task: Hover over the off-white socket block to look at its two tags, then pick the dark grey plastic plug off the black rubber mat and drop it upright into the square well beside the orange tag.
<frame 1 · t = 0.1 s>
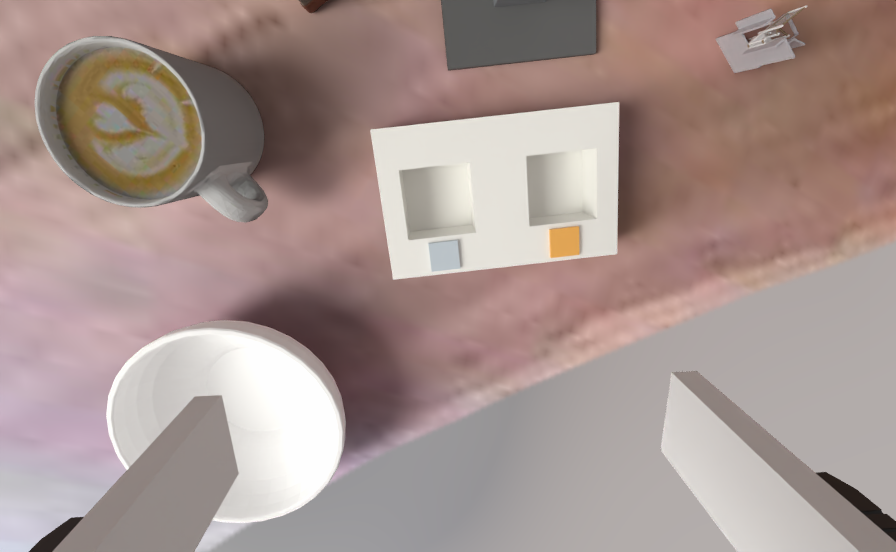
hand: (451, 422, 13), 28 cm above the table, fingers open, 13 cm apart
coffee mug: (218, 148, 36), on the table
bowl: (259, 386, 43), on the table
socket block: (493, 189, 38), on the table
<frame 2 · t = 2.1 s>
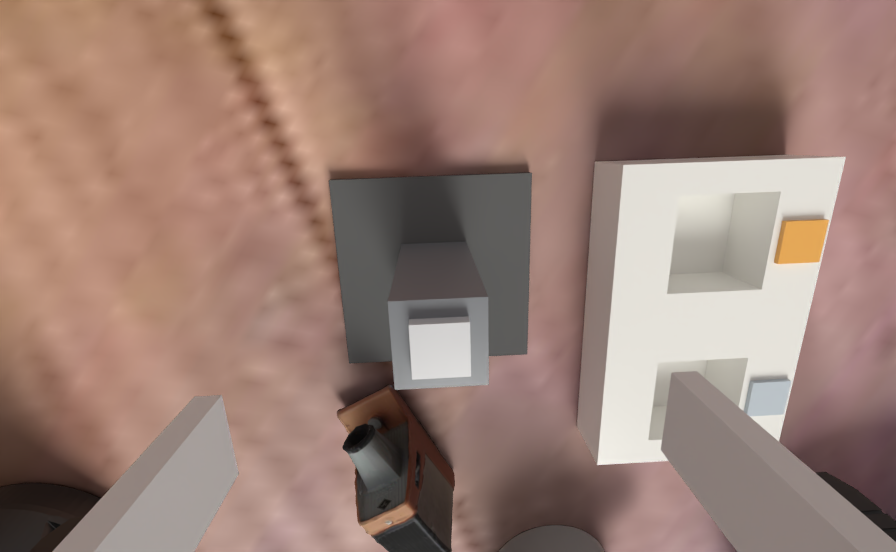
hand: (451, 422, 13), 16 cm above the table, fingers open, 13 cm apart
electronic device: (399, 436, 32), on the table
plug: (435, 273, 27), point 1 cm above the table, touching mat
mat: (435, 271, 28), on the table
socket block: (672, 302, 29), on the table
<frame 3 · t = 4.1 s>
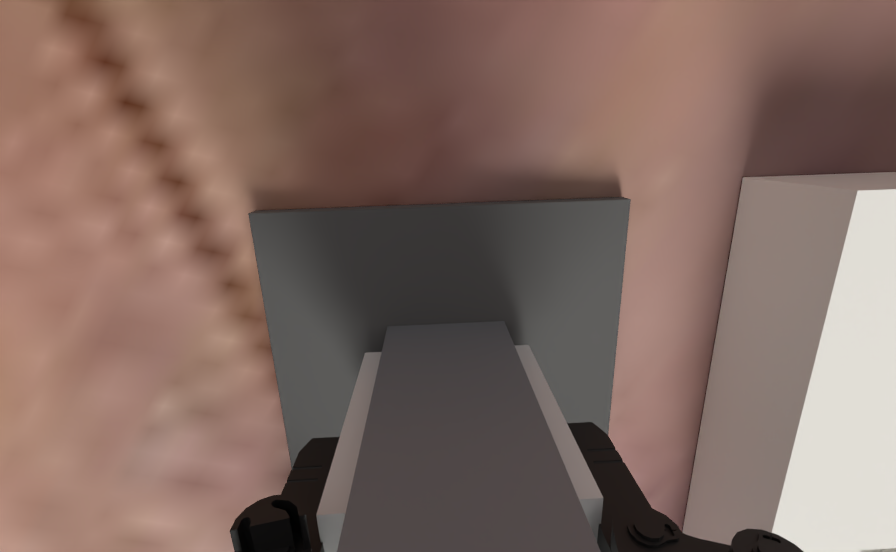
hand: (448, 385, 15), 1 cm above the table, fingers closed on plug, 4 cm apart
plug: (447, 375, 15), point 1 cm above the table, touching gripper, mat
mat: (447, 366, 16), on the table
socket block: (847, 413, 17), on the table
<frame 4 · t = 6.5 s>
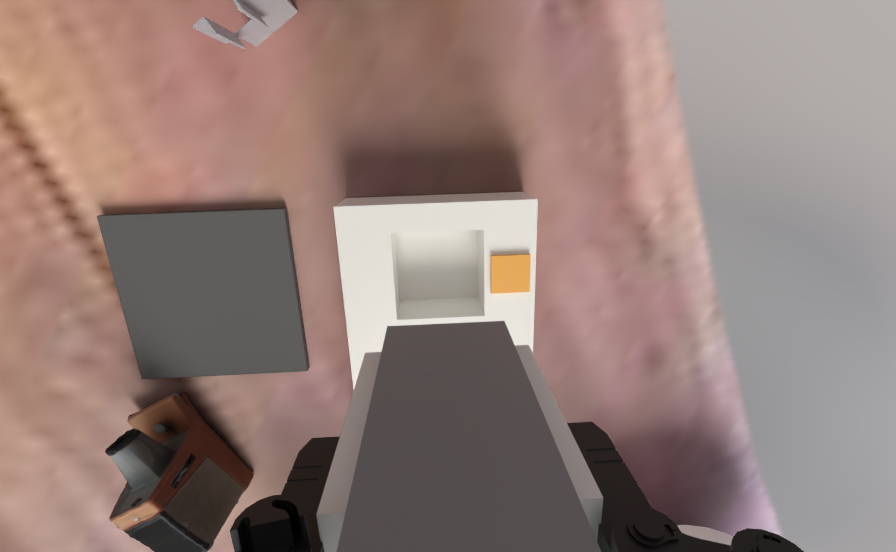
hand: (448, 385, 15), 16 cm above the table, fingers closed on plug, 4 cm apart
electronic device: (199, 439, 34), on the table
plug: (447, 375, 15), point 16 cm above the table, touching gripper
mat: (213, 295, 31), on the table
architectural model: (180, 14, 26), on the table
socket block: (440, 324, 32), on the table
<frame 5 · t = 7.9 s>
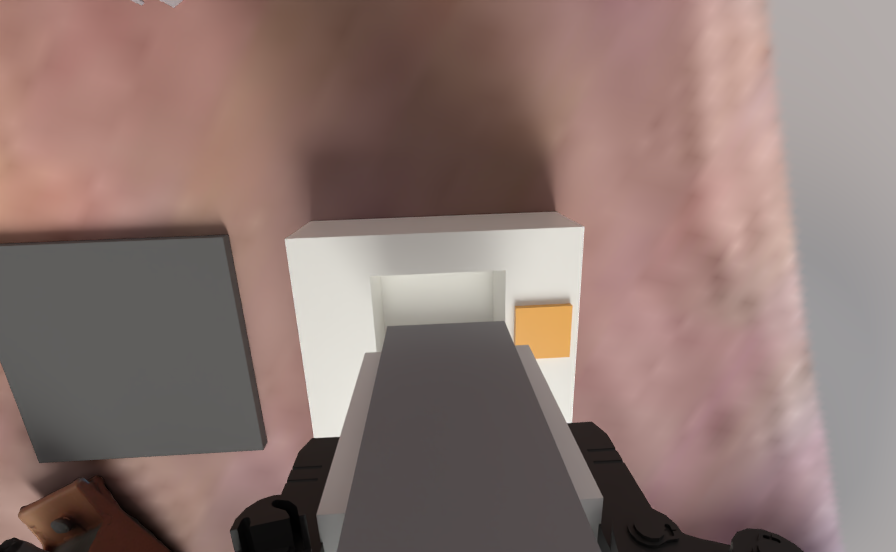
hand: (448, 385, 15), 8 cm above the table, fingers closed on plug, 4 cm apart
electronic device: (123, 530, 26), on the table
plug: (447, 375, 15), point 7 cm above the table, touching gripper
mat: (132, 352, 22), on the table
socket block: (441, 386, 24), on the table
when the fingers open (5 cm above the table, at t = 8.8 s): plug drops 4 cm, resting on socket block.
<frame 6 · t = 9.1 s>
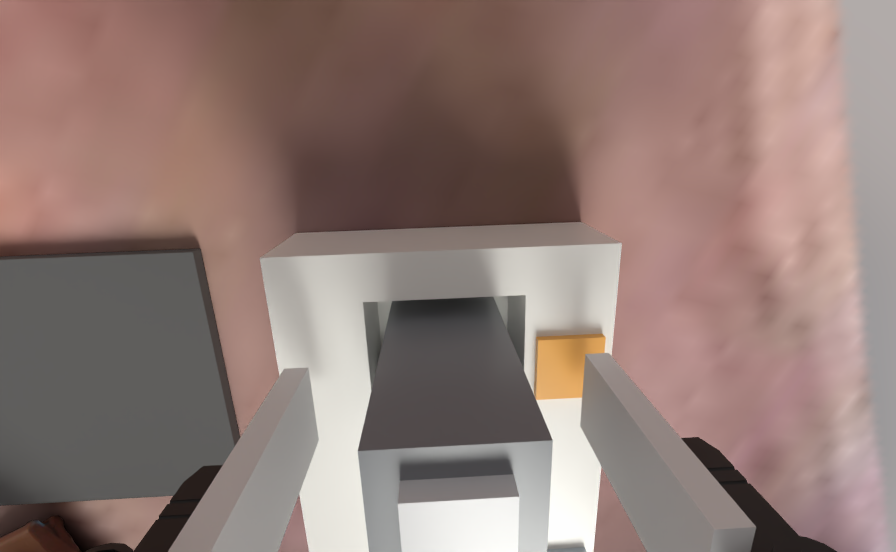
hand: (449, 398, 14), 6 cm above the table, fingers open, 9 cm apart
plug: (443, 330, 19), resting on socket block
mat: (92, 382, 20), on the table
socket block: (447, 420, 21), on the table
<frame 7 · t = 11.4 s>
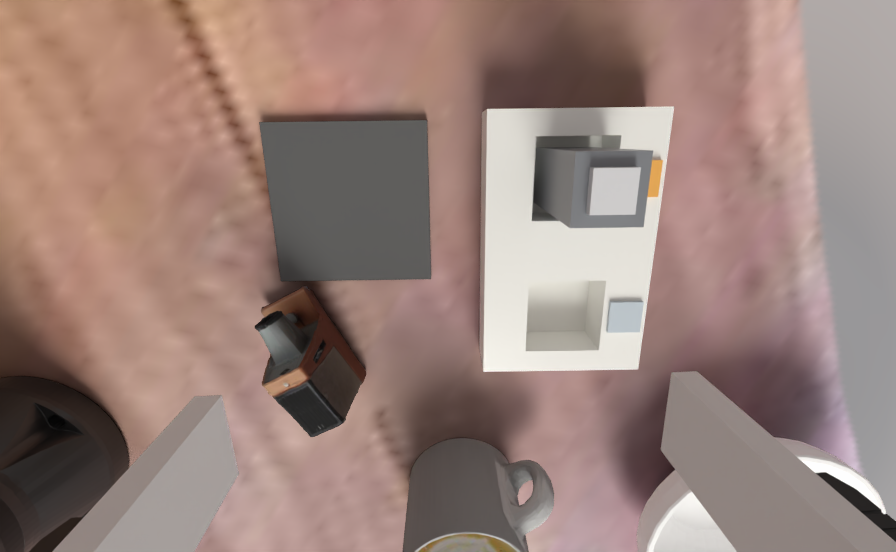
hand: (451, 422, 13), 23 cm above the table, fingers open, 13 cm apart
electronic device: (319, 337, 37), on the table
plug: (561, 175, 32), resting on socket block
coffee mug: (477, 473, 41), on the table
bowl: (711, 485, 42), on the table
mat: (351, 203, 33), on the table
socket block: (555, 239, 34), on the table
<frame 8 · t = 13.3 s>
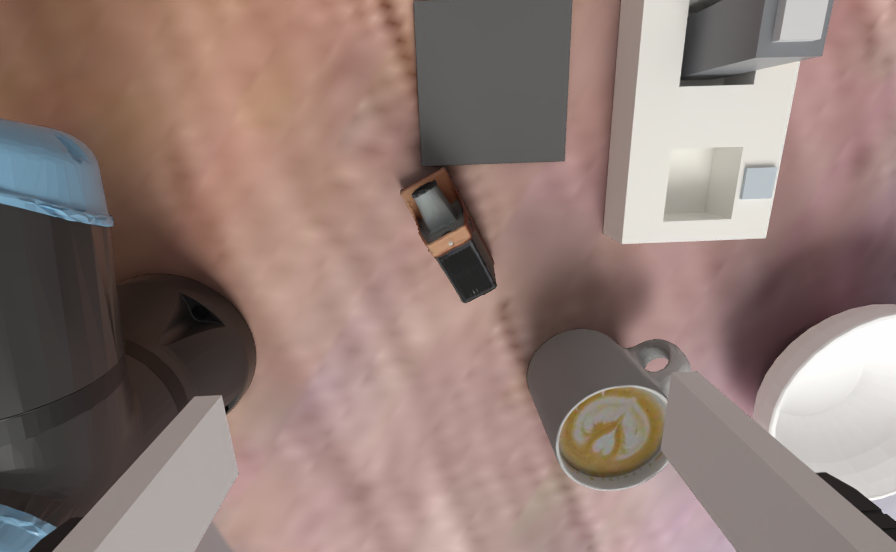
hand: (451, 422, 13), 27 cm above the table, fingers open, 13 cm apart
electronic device: (447, 225, 38), on the table
plug: (693, 52, 34), resting on socket block
coffee mug: (591, 365, 43), on the table
bowl: (810, 372, 44), on the table
mat: (492, 86, 35), on the table
socket block: (682, 119, 36), on the table
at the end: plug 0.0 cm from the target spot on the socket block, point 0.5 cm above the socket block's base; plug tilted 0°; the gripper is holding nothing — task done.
